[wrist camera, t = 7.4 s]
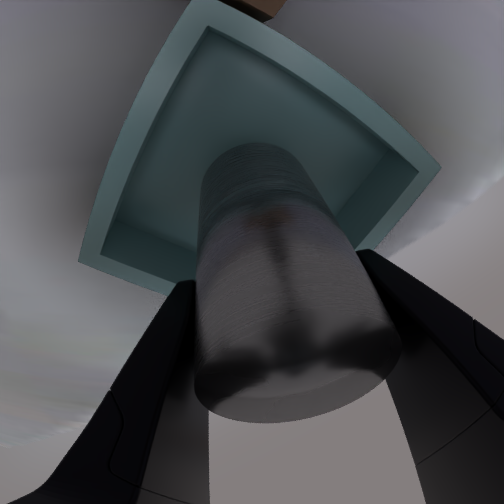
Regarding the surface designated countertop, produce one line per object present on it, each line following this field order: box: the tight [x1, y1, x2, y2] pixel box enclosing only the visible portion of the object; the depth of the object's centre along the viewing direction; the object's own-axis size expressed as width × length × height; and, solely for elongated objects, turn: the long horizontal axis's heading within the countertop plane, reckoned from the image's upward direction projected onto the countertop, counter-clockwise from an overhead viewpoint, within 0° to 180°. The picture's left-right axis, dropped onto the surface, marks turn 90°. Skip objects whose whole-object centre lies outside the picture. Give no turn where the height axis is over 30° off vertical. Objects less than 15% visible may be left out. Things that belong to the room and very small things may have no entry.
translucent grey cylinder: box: [194, 142, 402, 423], centre depth 8 cm, size 4×4×8 cm
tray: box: [78, 0, 442, 296], centre depth 12 cm, size 10×10×3 cm
